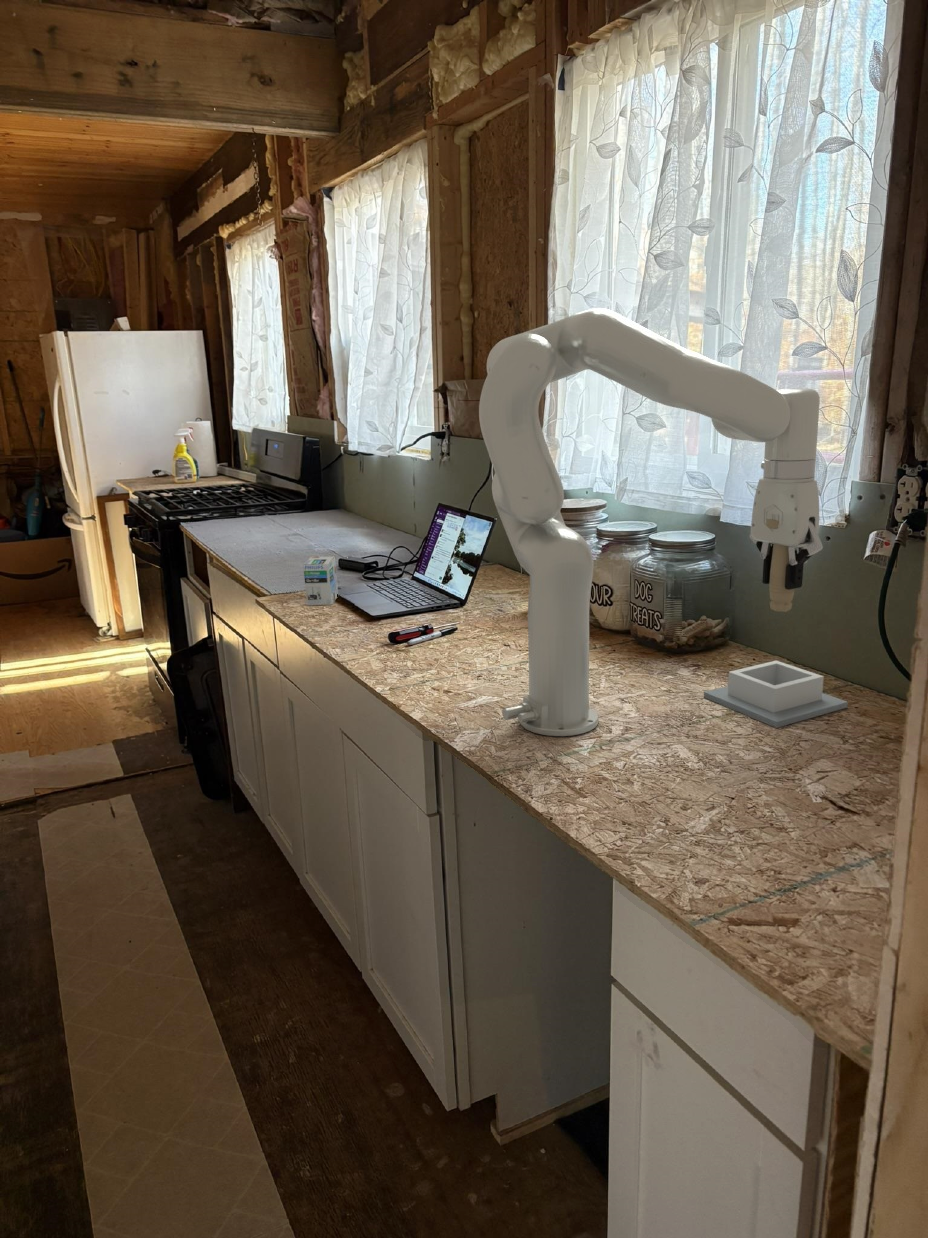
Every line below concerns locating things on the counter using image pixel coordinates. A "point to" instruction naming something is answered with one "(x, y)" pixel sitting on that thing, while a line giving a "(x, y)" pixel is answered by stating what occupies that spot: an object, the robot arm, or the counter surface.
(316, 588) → the light bulb box
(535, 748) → the counter surface
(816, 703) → the socket plate
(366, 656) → the counter surface
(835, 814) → the counter surface
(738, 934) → the counter surface
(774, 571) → the handle
